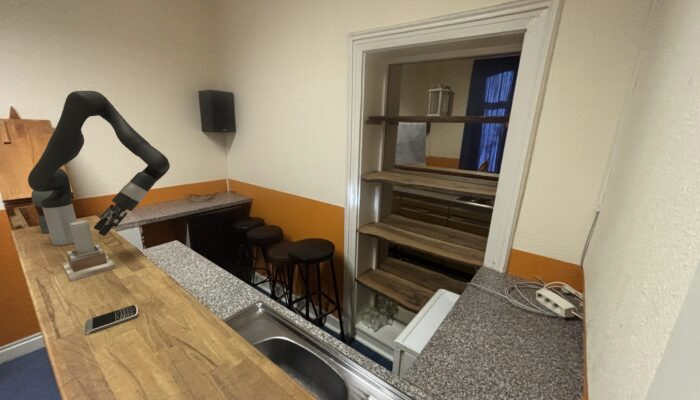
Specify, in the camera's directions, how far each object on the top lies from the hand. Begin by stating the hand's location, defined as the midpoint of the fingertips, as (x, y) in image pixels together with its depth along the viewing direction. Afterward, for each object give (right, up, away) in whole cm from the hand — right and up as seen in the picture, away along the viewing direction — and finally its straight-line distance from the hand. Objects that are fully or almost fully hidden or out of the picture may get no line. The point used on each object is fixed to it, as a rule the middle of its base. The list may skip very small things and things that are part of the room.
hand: (98, 232), depth 103 cm
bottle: (-56, -4, +37) cm, 67 cm away
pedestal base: (-3, -13, 0) cm, 13 cm away
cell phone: (+30, -21, -28) cm, 46 cm away
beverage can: (-3, -8, -1) cm, 9 cm away
